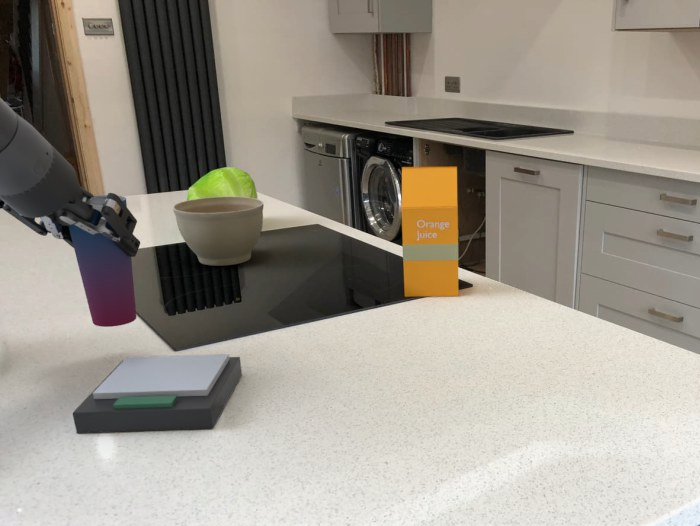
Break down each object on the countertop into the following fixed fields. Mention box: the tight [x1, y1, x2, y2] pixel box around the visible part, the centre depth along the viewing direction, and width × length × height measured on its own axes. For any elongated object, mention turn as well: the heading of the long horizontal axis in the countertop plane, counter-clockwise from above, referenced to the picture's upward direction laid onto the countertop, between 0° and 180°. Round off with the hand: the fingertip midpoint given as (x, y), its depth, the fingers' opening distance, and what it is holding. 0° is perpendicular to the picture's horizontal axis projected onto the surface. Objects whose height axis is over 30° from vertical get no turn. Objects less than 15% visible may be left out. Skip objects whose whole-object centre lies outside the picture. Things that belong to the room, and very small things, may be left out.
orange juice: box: [400, 166, 459, 298], centre depth 118 cm, size 8×9×20 cm
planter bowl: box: [172, 196, 265, 267], centre depth 138 cm, size 16×16×11 cm
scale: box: [72, 353, 243, 434], centre depth 82 cm, size 14×14×3 cm
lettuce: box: [186, 166, 258, 201], centre depth 164 cm, size 15×20×14 cm
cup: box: [69, 194, 137, 328], centre depth 89 cm, size 7×7×15 cm
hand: (110, 248), depth 90 cm, fingers closed on cup, 6 cm apart
